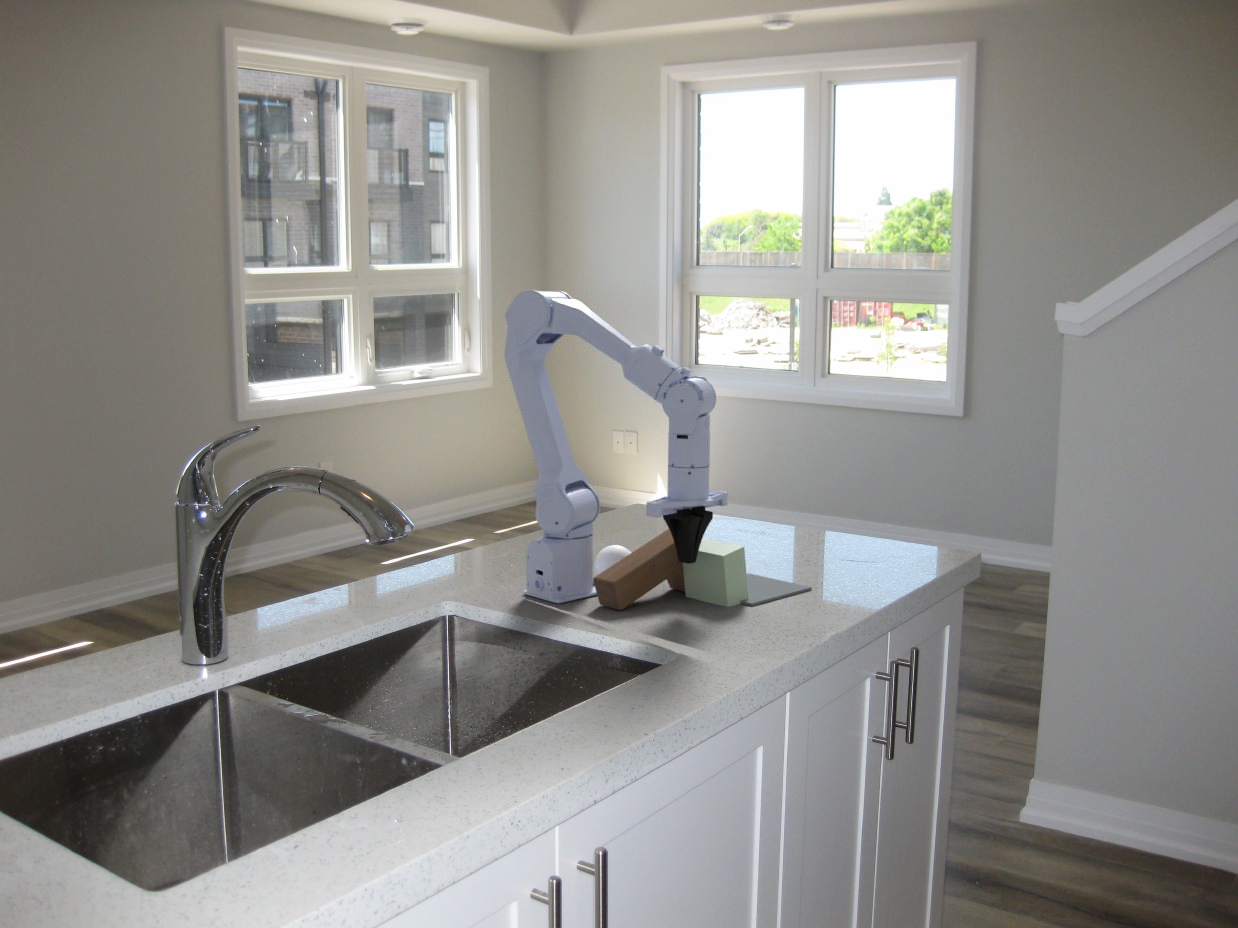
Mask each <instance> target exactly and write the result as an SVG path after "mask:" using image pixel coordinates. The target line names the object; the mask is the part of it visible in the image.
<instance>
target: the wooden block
mask: <svg viewBox="0 0 1238 928" xmlns="http://www.w3.org/2000/svg"><path fill="white" fill-rule="evenodd" d="M665 581H667V583H668V587H669V588H670V589H672V590H676V591H680V592H683V593H685V583H684V572H683V562H679V560H678V555H677V551H676V547H675V543H674V540H673V537H672V534H671V532H670V529H669V528H667V529H666V530H664V531H663V532H661V533H660V534H658V535H657V536H655V537H654V538H652V539H651V540H649V541H648V542H646V543H644V544H643V545H641V546H640V547H639V548H637V549H635V550H634V551H632V552H631V554H629V555H628V556H626V557H625V558H623V559H621V560H620V561H618V562H617V563H615V564H614V565H612V566H611V567H609V568H608V569H606V570H605V571H603V572H601V573H600V574H598V575H597V574H596V575H595V576H593V585H594V587H595V588H596V592H597V595H596V596H597V599H598V602H599V604H600V606H603V607H607V608H610V609H614V610H617V611H623V610H624V609H626V608H627V607H629V606H630V605H632V604H633V603H635V601H637V600H639V599H641V598H642V597H643V596H644V595H646V594H647V593H649V592H650V591H651V590H653V589H655V588H656V587H657V586H659V585H660V584H662V583H663V582H665Z"/></svg>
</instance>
